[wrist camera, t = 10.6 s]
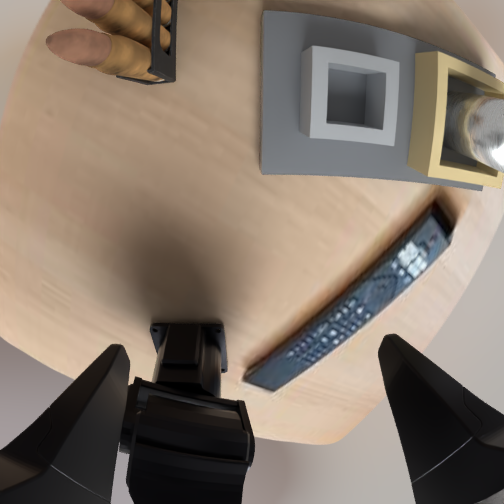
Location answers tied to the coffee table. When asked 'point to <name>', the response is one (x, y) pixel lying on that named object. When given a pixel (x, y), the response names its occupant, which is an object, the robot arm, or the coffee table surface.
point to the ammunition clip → (123, 39)
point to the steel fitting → (475, 127)
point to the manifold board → (362, 103)
